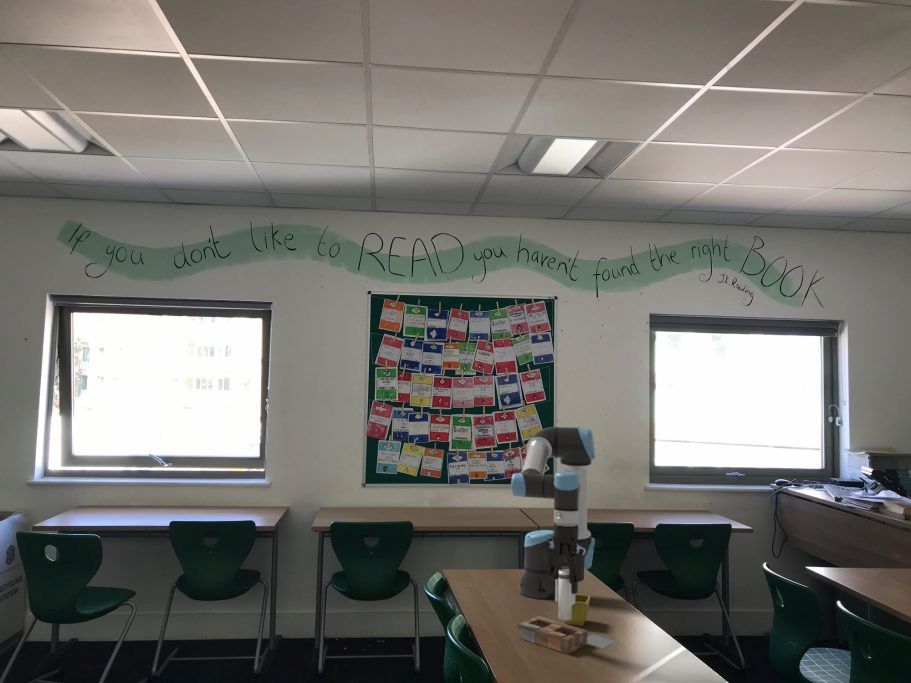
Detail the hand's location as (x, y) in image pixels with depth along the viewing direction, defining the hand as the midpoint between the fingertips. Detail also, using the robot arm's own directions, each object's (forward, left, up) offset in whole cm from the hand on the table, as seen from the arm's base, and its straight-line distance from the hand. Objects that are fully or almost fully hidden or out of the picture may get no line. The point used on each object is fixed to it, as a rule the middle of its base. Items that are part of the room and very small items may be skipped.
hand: (565, 602), depth 198 cm
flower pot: (-20, -9, -14) cm, 26 cm away
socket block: (0, -5, -14) cm, 14 cm away
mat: (-10, +5, -14) cm, 18 cm away
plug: (0, 0, -5) cm, 5 cm away
